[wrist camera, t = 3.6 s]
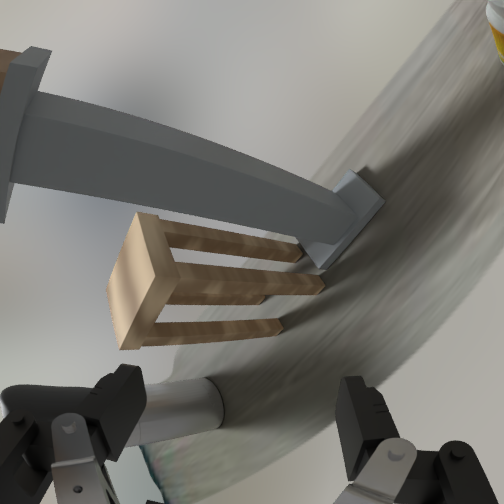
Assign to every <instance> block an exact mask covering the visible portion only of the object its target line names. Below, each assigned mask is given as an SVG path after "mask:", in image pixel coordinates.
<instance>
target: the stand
mask: <svg viewBox="0 0 504 504" xmlns="http://www.w3.org/2000/svg"><path fill="white" fill-rule="evenodd" d="M51 52H52V51H51V50H47V49H42V48H37V47H32V46H31V47H29V48H28V49H27V50H25V51H24V52H23V53H21V54H20V55H19V56H17V57H16V58H15V59H14V60H12V61H11V62H10V64H9V67H8V70H7V73H6V77H5V80H4V83H3V87H2V90H1V94H0V223H3V224H4V223H5V218H6V213H7V210H8V206H9V201H10V198H11V194H12V190H13V186H14V183H18V184H25V185H30V186H37V187H43V188H48V189H54V190H60V191H66V192H72V193H78V194H84V195H89V196H94V197H100V198H105V199H111V200H116V201H122V202H127V203H133V204H138V205H143V206H148V207H153V208H159V209H164V210H169V211H174V212H179V213H184V214H189V215H194V216H199V217H204V218H209V219H214V220H218V221H223V222H229V223H233V224H238V225H242V226H247V227H252V228H257V229H262V230H266V231H271V232H275V233H280V234H284V235H289V236H294V237H296V239H297V240H298V241H299V243H300V244H301V245H302V247H303V248H304V249H305V251H306V252H307V254H308V255H309V256H310V258H311V259H312V260H313V262H314V263H315V265H316V266H317V267H318V269H325V270H327V268H328V267H329V266H330V265H331V264H332V263H333V262H334V261H335V260H336V258H337V257H338V256H339V255H340V254H341V253H342V252H343V251H344V249H345V248H346V247H347V246H348V245H349V244H350V243H351V242H352V240H353V239H354V238H355V237H356V236H357V235H358V233H359V232H360V231H361V230H362V229H363V228H364V227H365V225H366V224H367V223H368V222H369V221H370V219H371V218H372V217H373V216H374V215H375V214H376V212H377V211H378V210H379V209H380V208H381V206H382V205H383V204H384V203H385V202H386V201H385V200H384V199H383V198H382V197H381V196H380V195H379V194H378V193H377V192H376V191H375V190H374V189H373V188H372V187H371V186H370V185H369V184H368V183H366V182H365V181H364V180H363V179H362V178H361V177H360V176H359V175H358V174H357V173H355V172H354V171H352V170H351V169H349V170H348V171H347V172H346V174H345V175H344V176H343V178H342V179H341V180H340V181H339V183H338V184H337V185H336V187H335V188H334V189H333V190H332V191H330V190H328V189H326V188H324V187H322V186H320V185H317V184H315V183H313V182H311V181H308V180H306V179H304V178H302V177H299V176H297V175H294V174H292V173H290V172H288V171H285V170H283V169H281V168H278V167H276V166H273V165H271V164H269V163H266V162H264V161H261V160H259V159H256V158H254V157H251V156H249V155H246V154H244V153H241V152H238V151H236V150H233V149H230V148H228V147H225V146H223V145H220V144H217V143H214V142H212V141H209V140H206V139H203V138H201V137H198V136H195V135H192V134H189V133H186V132H183V131H180V130H177V129H175V128H171V127H169V126H165V125H162V124H159V123H156V122H153V121H149V120H147V119H143V118H140V117H136V116H133V115H130V114H127V113H123V112H120V111H116V110H113V109H109V108H106V107H102V106H98V105H94V104H90V103H86V102H83V101H79V100H75V99H71V98H66V97H62V96H58V95H53V94H49V93H44V92H40V91H38V88H39V85H40V82H41V79H42V76H43V74H44V71H45V68H46V66H47V63H48V60H49V58H50V55H51Z"/></svg>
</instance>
